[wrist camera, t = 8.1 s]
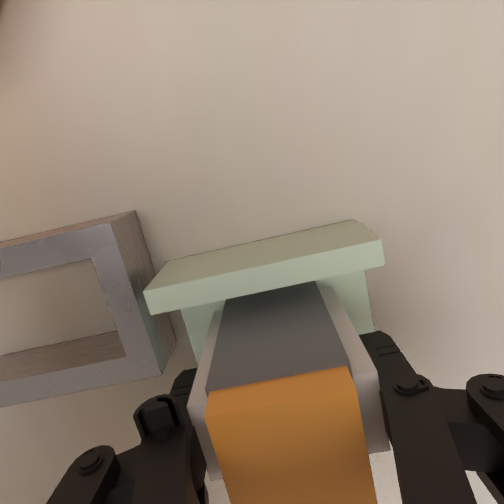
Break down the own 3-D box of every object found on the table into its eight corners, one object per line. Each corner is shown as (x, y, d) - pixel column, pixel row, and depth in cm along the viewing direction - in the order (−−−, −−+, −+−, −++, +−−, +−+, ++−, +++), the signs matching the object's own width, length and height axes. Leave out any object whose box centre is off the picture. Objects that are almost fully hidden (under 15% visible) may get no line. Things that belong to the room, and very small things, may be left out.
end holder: (208, 392, 20) (196, 451, 16) (168, 260, 18) (142, 291, 14) (377, 359, 19) (407, 413, 15) (353, 219, 17) (381, 239, 13)
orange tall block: (247, 369, 18) (237, 535, 10) (226, 294, 17) (199, 414, 9) (328, 354, 18) (382, 511, 10) (313, 276, 17) (359, 384, 9)
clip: (10, 375, 20) (-33, 413, 17) (-46, 253, 18) (-105, 272, 15) (176, 340, 19) (161, 375, 16) (134, 210, 17) (109, 222, 14)
